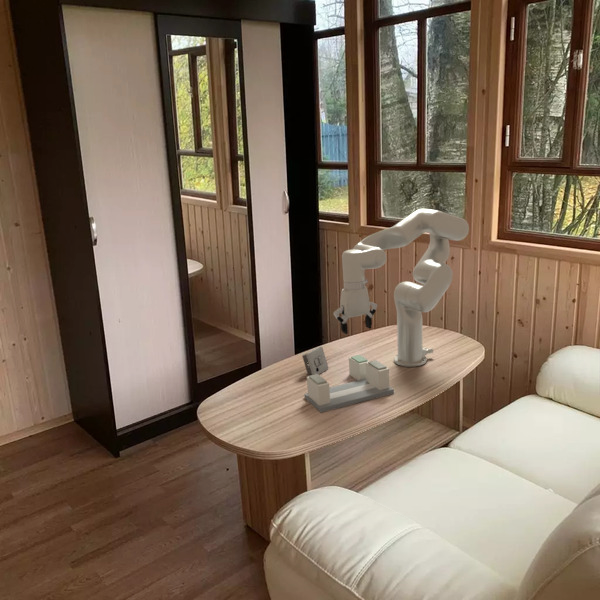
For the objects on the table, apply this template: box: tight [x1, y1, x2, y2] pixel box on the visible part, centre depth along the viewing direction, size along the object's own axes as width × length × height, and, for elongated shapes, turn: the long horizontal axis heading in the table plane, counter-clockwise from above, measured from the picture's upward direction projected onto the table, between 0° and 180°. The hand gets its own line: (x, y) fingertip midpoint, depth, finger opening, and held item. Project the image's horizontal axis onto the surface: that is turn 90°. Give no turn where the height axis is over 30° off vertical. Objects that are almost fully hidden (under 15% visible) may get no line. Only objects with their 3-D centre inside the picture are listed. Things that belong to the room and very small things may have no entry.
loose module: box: [348, 354, 370, 381], centre depth 223 cm, size 4×8×8 cm, turn 24°
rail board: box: [303, 379, 395, 413], centre depth 209 cm, size 28×13×2 cm, turn 114°
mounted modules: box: [306, 359, 390, 406], centre depth 207 cm, size 27×9×8 cm, turn 114°
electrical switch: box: [301, 346, 329, 376], centre depth 230 cm, size 9×5×9 cm, turn 141°
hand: (356, 330), depth 218 cm, fingers open, 9 cm apart
